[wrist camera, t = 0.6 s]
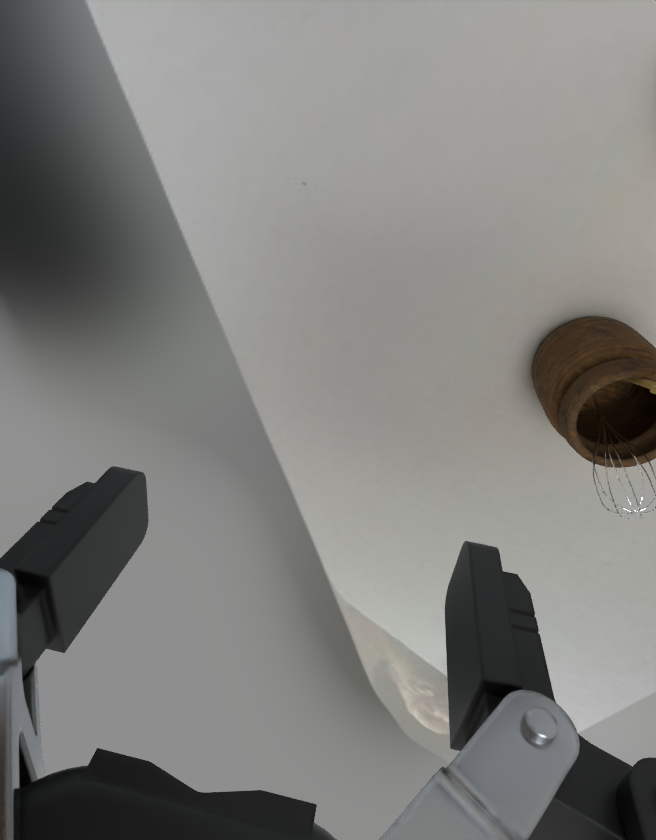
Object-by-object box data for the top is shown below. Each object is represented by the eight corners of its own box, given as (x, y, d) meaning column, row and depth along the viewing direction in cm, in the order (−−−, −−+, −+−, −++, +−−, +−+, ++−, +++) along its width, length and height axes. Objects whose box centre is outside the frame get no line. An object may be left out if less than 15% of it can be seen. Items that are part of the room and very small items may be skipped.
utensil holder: (516, 402, 31) (562, 532, 20) (550, 299, 28) (625, 390, 17) (618, 419, 30) (719, 563, 20) (663, 316, 27) (811, 421, 17)
